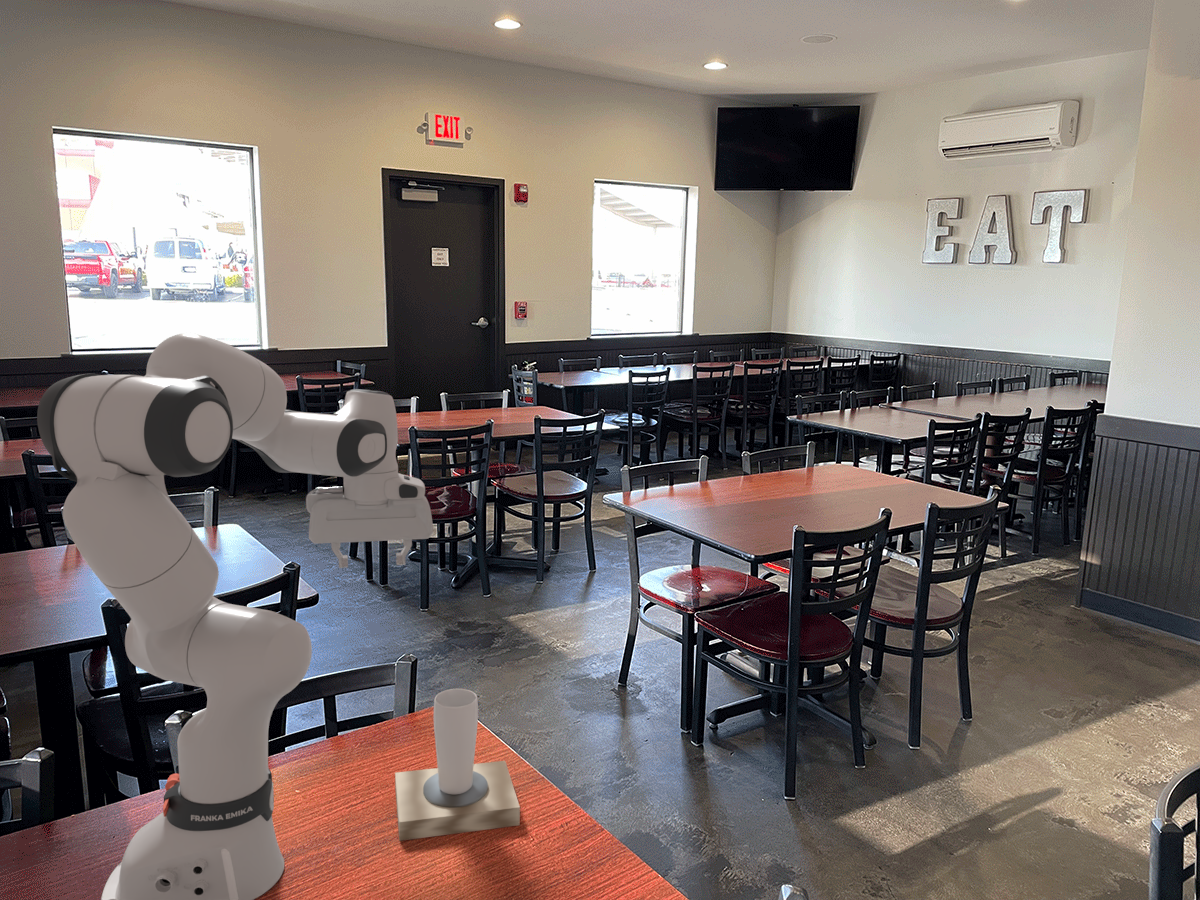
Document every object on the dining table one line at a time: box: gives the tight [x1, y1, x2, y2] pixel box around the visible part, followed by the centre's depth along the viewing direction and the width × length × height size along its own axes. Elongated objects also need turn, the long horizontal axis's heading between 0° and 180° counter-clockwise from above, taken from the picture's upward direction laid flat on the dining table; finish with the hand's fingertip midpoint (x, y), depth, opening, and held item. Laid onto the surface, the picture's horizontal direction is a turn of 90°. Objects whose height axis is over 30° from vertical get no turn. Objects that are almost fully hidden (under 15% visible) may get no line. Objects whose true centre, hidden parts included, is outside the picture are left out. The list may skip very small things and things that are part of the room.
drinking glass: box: [433, 688, 479, 795], centre depth 137 cm, size 7×7×15 cm
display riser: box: [394, 760, 521, 842], centre depth 139 cm, size 18×14×4 cm
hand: (372, 565), depth 149 cm, fingers open, 8 cm apart
